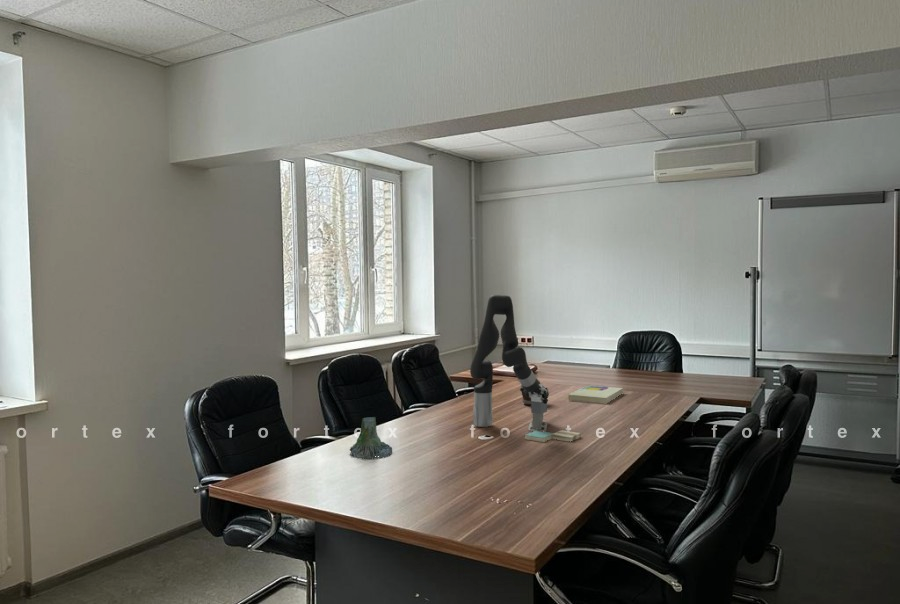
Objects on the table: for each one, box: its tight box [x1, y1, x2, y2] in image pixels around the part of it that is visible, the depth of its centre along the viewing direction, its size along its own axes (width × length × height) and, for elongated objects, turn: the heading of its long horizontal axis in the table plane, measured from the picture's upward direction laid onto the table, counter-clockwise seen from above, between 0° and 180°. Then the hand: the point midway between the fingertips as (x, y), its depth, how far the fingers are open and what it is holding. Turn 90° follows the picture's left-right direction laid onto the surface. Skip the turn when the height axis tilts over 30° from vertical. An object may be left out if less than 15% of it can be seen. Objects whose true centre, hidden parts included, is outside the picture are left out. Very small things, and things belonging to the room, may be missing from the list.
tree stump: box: [349, 416, 393, 460], centre depth 280 cm, size 18×20×18 cm
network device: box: [527, 383, 548, 432], centre depth 320 cm, size 26×9×20 cm, turn 168°
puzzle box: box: [567, 385, 624, 405], centre depth 394 cm, size 36×5×24 cm
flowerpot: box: [519, 378, 546, 406], centre depth 376 cm, size 14×15×20 cm
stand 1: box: [524, 431, 555, 443], centre depth 298 cm, size 10×10×2 cm
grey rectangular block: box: [530, 387, 548, 414], centre depth 298 cm, size 6×5×11 cm
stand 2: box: [550, 430, 582, 443], centre depth 298 cm, size 10×10×2 cm
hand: (541, 401), depth 299 cm, fingers closed on grey rectangular block, 5 cm apart
